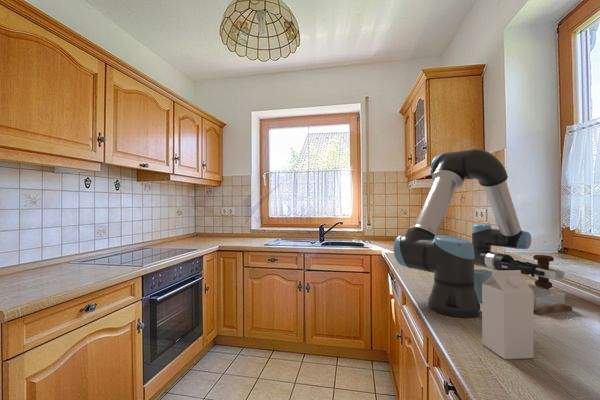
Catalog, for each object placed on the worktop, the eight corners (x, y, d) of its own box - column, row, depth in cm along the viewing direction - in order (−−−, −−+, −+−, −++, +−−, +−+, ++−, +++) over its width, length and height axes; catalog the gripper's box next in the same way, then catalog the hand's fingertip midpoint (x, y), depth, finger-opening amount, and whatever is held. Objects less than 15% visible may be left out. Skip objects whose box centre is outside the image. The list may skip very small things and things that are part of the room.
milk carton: (481, 344, 72) (481, 267, 73) (508, 343, 73) (508, 267, 73) (504, 360, 65) (504, 274, 65) (534, 358, 66) (533, 274, 66)
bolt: (556, 299, 106) (556, 257, 106) (540, 298, 107) (540, 257, 107) (546, 294, 112) (546, 254, 112) (531, 293, 113) (531, 254, 113)
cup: (489, 297, 107) (489, 269, 107) (501, 305, 100) (501, 274, 100) (467, 297, 108) (467, 268, 108) (477, 304, 101) (477, 274, 101)
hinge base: (535, 314, 92) (535, 298, 92) (496, 299, 105) (496, 285, 105) (572, 310, 95) (572, 294, 95) (529, 296, 109) (529, 283, 109)
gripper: (515, 269, 129) (576, 284, 106) (484, 271, 125) (541, 287, 102) (515, 252, 129) (576, 263, 106) (484, 254, 125) (541, 266, 102)
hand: (559, 275), depth 104 cm, fingers closed on bolt, 3 cm apart
